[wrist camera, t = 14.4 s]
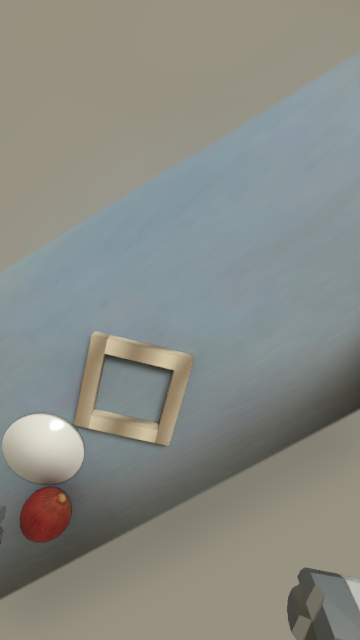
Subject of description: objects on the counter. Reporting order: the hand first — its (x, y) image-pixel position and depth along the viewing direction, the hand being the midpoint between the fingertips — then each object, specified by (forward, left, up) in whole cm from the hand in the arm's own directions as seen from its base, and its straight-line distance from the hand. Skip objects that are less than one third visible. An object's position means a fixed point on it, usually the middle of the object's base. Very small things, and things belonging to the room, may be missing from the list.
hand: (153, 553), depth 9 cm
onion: (+7, +25, -26) cm, 37 cm away
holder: (+2, +11, -29) cm, 31 cm away
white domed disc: (+11, +22, -29) cm, 38 cm away
